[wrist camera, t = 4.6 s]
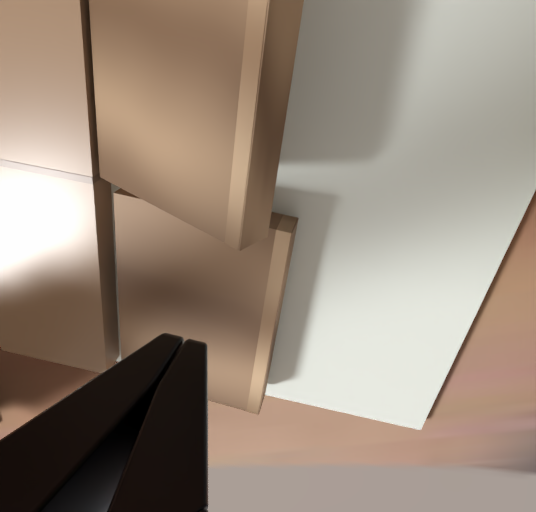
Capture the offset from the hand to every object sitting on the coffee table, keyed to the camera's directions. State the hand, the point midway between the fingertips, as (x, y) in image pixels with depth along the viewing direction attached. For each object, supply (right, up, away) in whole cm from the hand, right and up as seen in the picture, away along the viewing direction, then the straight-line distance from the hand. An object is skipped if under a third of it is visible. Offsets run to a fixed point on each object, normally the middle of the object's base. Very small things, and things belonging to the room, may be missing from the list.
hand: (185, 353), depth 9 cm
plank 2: (-1, 0, +13) cm, 13 cm away
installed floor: (0, +5, +11) cm, 12 cm away
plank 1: (-1, +9, +6) cm, 11 cm away
